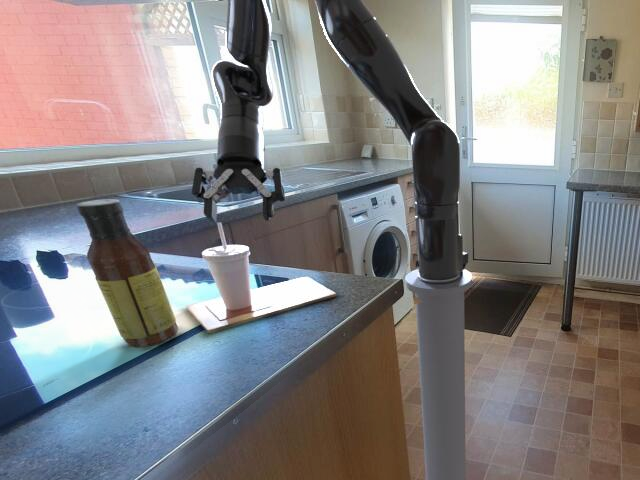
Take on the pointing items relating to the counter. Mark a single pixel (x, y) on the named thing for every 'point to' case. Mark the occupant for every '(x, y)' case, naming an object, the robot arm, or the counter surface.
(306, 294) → the wooden board
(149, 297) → the sauce bottle
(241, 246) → the smoothie
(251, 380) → the counter surface
